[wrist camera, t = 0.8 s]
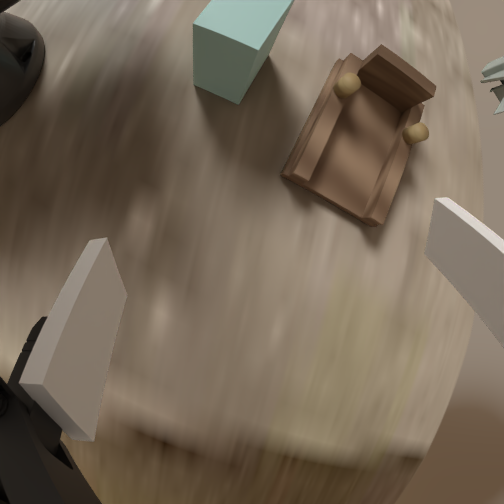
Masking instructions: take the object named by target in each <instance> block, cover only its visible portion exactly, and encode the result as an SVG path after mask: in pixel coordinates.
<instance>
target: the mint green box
mask: <svg viewBox="0 0 504 504" xmlns="http://www.w3.org/2000/svg"><path fill="white" fill-rule="evenodd" d="M293 2H294V0H212V1H211V2H210V3H209V4H208V5H207V7H206V8H205V9H204V10H203V11H202V13H201V14H200V15H199V16H198V18H197V19H196V20H195V21H194V23H193V81H194V85H195V86H198V87H200V88H202V89H205V90H207V91H209V92H211V93H214V94H216V95H218V96H220V97H222V98H225V99H227V100H229V101H231V102H233V103H235V104H237V105H239V104H240V102H241V100H242V98H243V97H244V95H245V93H246V92H247V90H248V88H249V86H250V85H251V83H252V81H253V80H254V78H255V76H256V75H257V73H258V71H259V70H260V68H261V66H262V65H263V63H264V62H265V60H266V58H267V57H268V55H269V53H270V51H271V49H272V46H273V44H274V42H275V40H276V38H277V35H278V33H279V31H280V29H281V27H282V25H283V23H284V21H285V18H286V16H287V14H288V12H289V10H290V8H291V6H292V4H293Z"/></svg>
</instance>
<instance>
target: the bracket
mask: <svg viewBox="0 0 504 504" xmlns="http://www.w3.org/2000/svg"><path fill="white" fill-rule="evenodd" d="M482 74H483V75H484V77H485V78H484V80H481V83H486V82H491V81H497V80H500V81H501V82H502V84H503V85H500V86H498V87H495V88H492V89H491V90H490V92H492V91H494V93H495V94H496V96H497V98H498V99H499V101H500V104H499V106H498V108H497V109H496V111H495V112H494V115H495V114H499V113H502V112H504V56H503V57H500V58H498V59H496V60H494V61H492V62H490V63H488V64H487V65H486V66H485V68H484V69H483V71H482Z"/></svg>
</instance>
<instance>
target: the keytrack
mask: <svg viewBox="0 0 504 504" xmlns="http://www.w3.org/2000/svg"><path fill="white" fill-rule="evenodd" d="M435 90H436V86H435V85H434V84H433V83H432V82H431V81H429V80H428V79H427V78H426V77H425V76H423V75H422V74H421V73H420V72H418V71H417V70H416V69H415V68H413V67H412V66H411V65H409V64H408V63H407V62H405V61H404V60H403V59H401V58H400V57H399V56H397V55H396V54H395V53H393V52H392V51H390V50H389V49H388V48H386V47H385V46H383V45H382V44H381V45H380V46H379V47H378V48H377V49H376V50H374V51H373V52H372V53H371V54H370V55H369V56H368V57H367V58H365V59H364V60H361V59H360V58H358V57H356V56H355V55H353V54H352V53H350V54H349V55H348V56H347V57H346V59H345V60H344V61H343V60H341V59H338V60H337V61H336V63H335V64H334V66H333V68H332V70H331V72H330V74H329V76H328V78H327V80H326V82H325V84H324V86H323V89H322V91H321V93H320V95H319V97H318V99H317V101H316V103H315V105H314V107H313V109H312V111H311V113H310V115H309V117H308V119H307V121H306V123H305V125H304V127H303V129H302V131H301V133H300V135H299V137H298V139H297V142H296V144H295V146H294V148H293V150H292V152H291V154H290V156H289V158H288V160H287V162H286V164H285V166H284V168H283V170H282V172H281V174H280V175H281V176H283V177H284V178H286V179H288V180H290V181H292V182H294V183H296V184H297V185H299V186H301V187H303V188H305V189H307V190H308V191H310V192H312V193H314V194H316V195H317V196H319V197H321V198H323V199H325V200H326V201H328V202H330V203H332V204H333V205H335V206H337V207H339V208H340V209H342V210H344V211H345V212H347V213H349V214H351V215H352V216H354V217H356V218H357V219H359V220H361V221H362V222H364V223H366V224H367V225H369V226H371V227H376V226H377V225H383V223H384V221H385V218H386V216H387V213H388V211H389V208H390V206H391V203H392V201H393V198H394V195H395V193H396V190H397V187H398V185H399V182H400V179H401V176H402V174H403V171H404V168H405V165H406V162H407V159H408V156H409V153H410V150H411V147H412V144H414V143H417V142H420V141H423V140H426V139H427V138H428V137H429V131H428V128H427V127H426V125H425V124H423V123H419V122H420V119H421V116H422V112H423V109H424V105H423V104H422V102H424V101H426V100H428V99H430V98H432V97H434V94H435Z"/></svg>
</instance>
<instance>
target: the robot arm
mask: <svg viewBox="0 0 504 504" xmlns="http://www.w3.org/2000/svg"><path fill="white" fill-rule="evenodd" d="M19 1H20V0H0V126H1V125H2V124H3V123H5V122H6V121H7V120H8V119H9V118H10V117H11V116H12V115H13V114H14V113H15V112H16V111H17V110H18V108H19V107H20V106H21V105H22V103H23V102H24V101H25V99H26V98H27V96H28V95H29V93H30V91H31V90H32V88H33V86H34V84H35V82H36V80H37V78H38V76H39V73H40V70H41V67H42V64H43V59H44V41H43V38H42V36H41V34H40V33H39V32H38V30H37V29H36V28H35V27H34V25H33V24H32V23H30V22H29V21H27V20H25V19H23V18H20V17H17V16H15V15H12V14H9V13H6V12H4V11H5V10H7V9H8V8H10V7H11V6H13V5H14V4H16V3H17V2H19ZM424 254H425V255H426V256H427V257H428V258H429V259H430V261H431V262H432V263H433V264H434V265H435V266H436V267H437V268H438V269H439V270H440V271H441V272H442V274H443V275H444V276H445V277H446V278H447V279H448V280H449V281H450V283H451V284H452V285H453V286H454V287H455V288H456V289H457V291H458V292H459V293H460V294H461V295H462V296H463V298H464V299H465V300H466V301H467V302H468V303H469V305H470V306H471V307H472V308H473V309H474V311H475V312H476V313H477V314H478V315H479V317H480V318H481V319H482V320H483V322H484V323H485V324H486V326H487V327H488V328H489V329H490V331H491V332H492V333H493V335H494V336H495V337H496V338H497V340H498V341H499V343H500V344H501V345H502V347H503V348H504V240H502V239H501V238H500V237H499V236H498V235H497V234H495V233H494V232H493V231H492V230H490V229H489V228H488V227H487V226H485V225H484V224H483V223H482V222H480V221H479V220H478V219H476V218H475V217H474V216H472V215H471V214H470V213H468V212H467V211H466V210H464V209H463V208H462V207H460V206H459V205H458V204H456V203H455V202H453V201H452V200H451V199H449V198H448V197H446V198H435V199H434V205H433V211H432V217H431V223H430V228H429V233H428V238H427V243H426V248H425V252H424ZM127 296H128V295H127V293H126V290H125V287H124V285H123V282H122V279H121V276H120V274H119V271H118V268H117V265H116V262H115V259H114V256H113V253H112V250H111V247H110V244H109V241H108V238H107V237H106V238H100V239H94V240H89V242H88V244H87V245H86V247H85V249H84V250H83V252H82V254H81V256H80V257H79V259H78V261H77V262H76V264H75V266H74V268H73V269H72V271H71V273H70V275H69V277H68V278H67V280H66V282H65V284H64V286H63V288H62V290H61V291H60V293H59V295H58V297H57V299H56V301H55V303H54V305H53V307H52V309H51V311H50V313H49V315H48V316H47V317H42V318H41V319H40V320H39V321H38V322H37V323H36V324H35V326H34V327H33V328H32V330H31V332H30V334H29V336H28V338H27V343H25V344H24V346H23V349H22V353H20V355H19V357H18V360H17V362H16V364H15V367H14V369H13V371H12V374H11V376H10V379H9V381H8V383H7V384H6V383H5V381H4V380H3V379H2V378H1V377H0V504H102V503H101V502H100V500H99V499H98V497H97V496H96V495H95V493H94V492H93V490H92V489H91V487H90V486H89V484H88V483H87V481H86V479H85V478H84V476H83V475H82V473H81V472H80V470H79V468H78V467H77V465H76V463H75V462H74V460H73V458H72V456H71V455H70V453H69V451H68V449H67V448H66V446H65V444H64V443H63V442H62V441H61V440H60V437H61V432H62V430H63V431H64V432H65V433H66V434H67V435H68V436H69V437H70V438H71V439H72V440H82V441H93V442H94V440H95V433H96V428H97V422H98V416H99V411H100V406H101V401H102V396H103V391H104V386H105V382H106V377H107V373H108V368H109V364H110V360H111V356H112V352H113V348H114V344H115V340H116V336H117V332H118V328H119V324H120V321H121V317H122V313H123V310H124V306H125V303H126V299H127Z"/></svg>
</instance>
